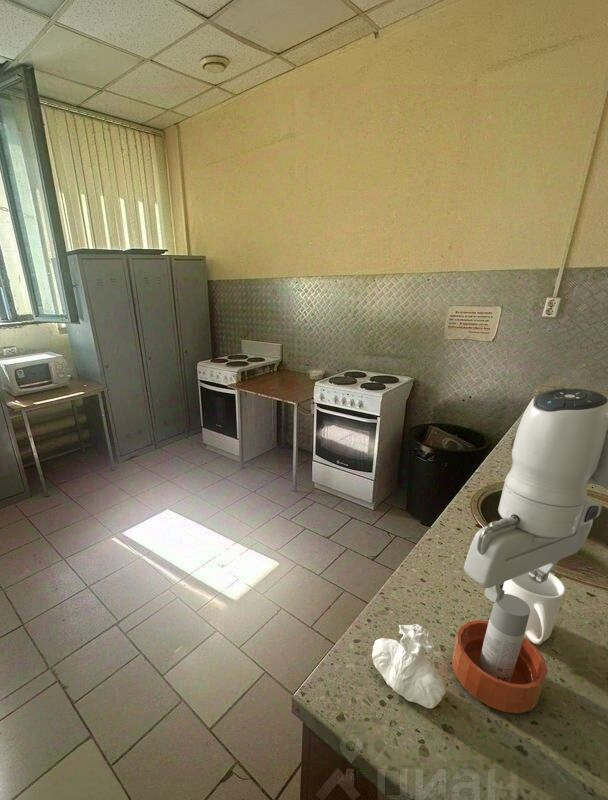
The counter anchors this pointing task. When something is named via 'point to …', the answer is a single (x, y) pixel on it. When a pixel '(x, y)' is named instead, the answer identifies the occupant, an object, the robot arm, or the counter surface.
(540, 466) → the robot arm
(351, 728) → the counter surface
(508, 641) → the container
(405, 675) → the white plastic bag
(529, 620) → the mug
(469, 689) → the bowl
